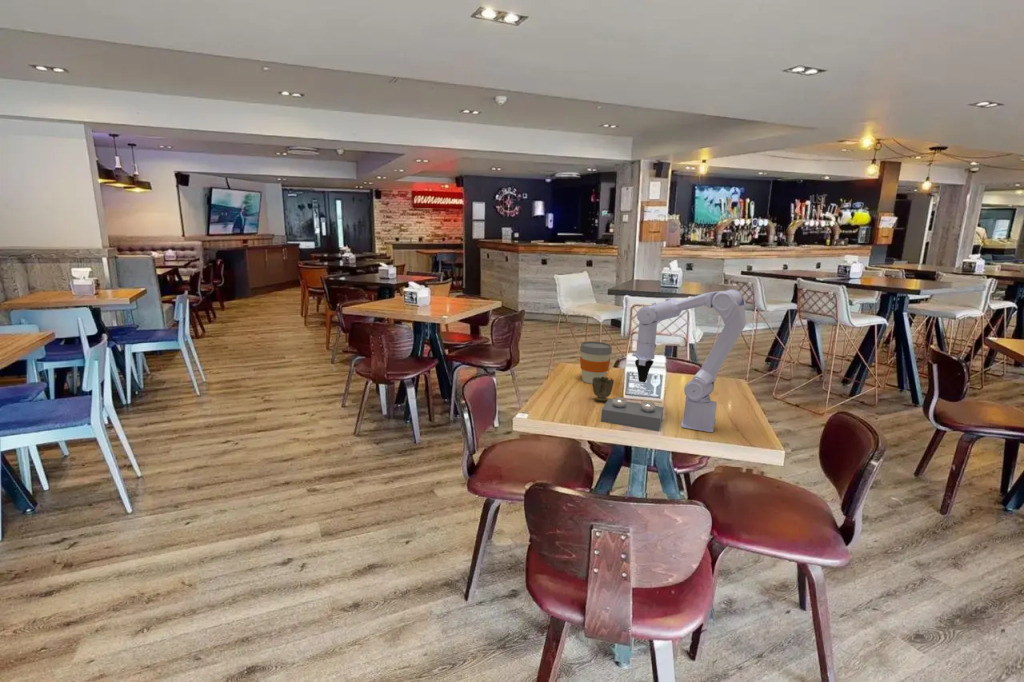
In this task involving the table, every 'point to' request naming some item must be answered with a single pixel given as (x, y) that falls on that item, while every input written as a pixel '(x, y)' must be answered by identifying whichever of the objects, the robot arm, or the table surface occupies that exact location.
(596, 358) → the reusable coffee cup
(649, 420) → the knob mount
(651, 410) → the knob near
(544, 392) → the table surface
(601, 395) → the cup
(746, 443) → the table surface
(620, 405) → the knob outer
